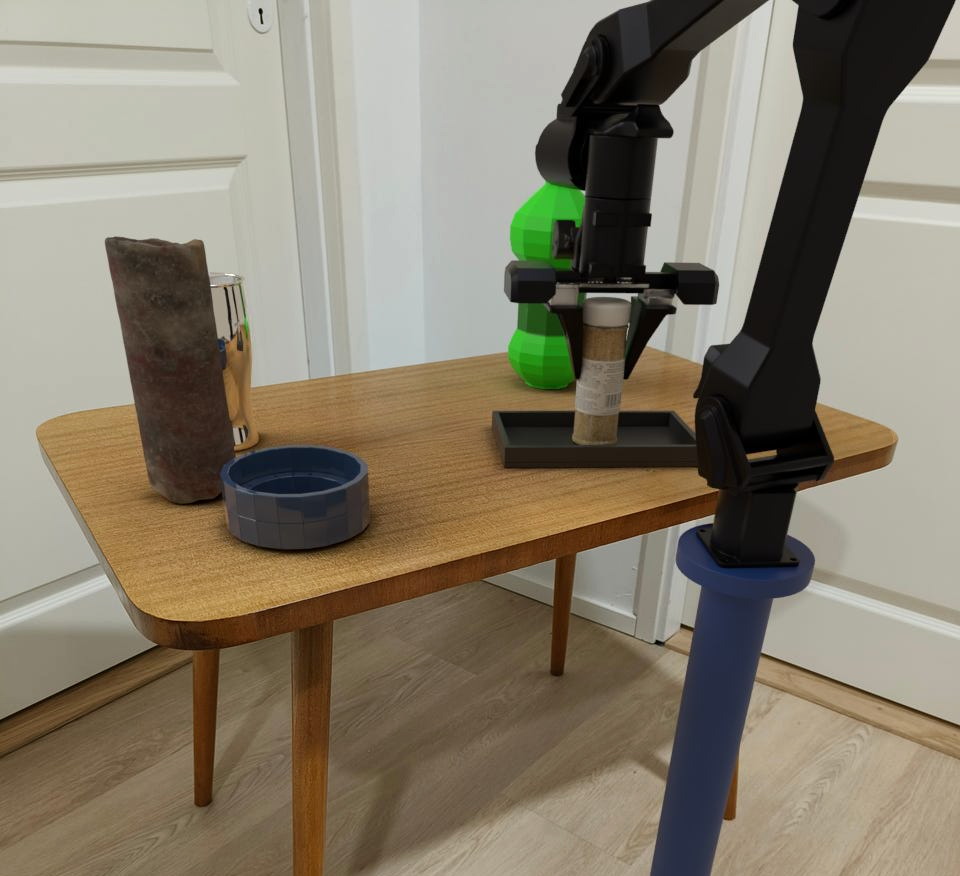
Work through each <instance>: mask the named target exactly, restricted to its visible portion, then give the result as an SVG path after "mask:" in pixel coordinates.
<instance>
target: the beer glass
mask: <svg viewBox="0 0 960 876" xmlns="http://www.w3.org/2000/svg"><path fill="white" fill-rule="evenodd" d="M208 274H209V279H210V285H211V292H212V300H213V309H214V316H215V321H216V328H217V335H218V343H219V350H220V357H221V364H222V372H223V378H224V384H225V391H226V398H227V404H228V410H229V417H230V423H231V430H232V436H233V443H234V449H235V452H238V451H242V450H243V451H244V450H247V449H250V448H252V447H254V446H256V445H257V444H258V442H259V439H260V437H259V432H258V429H257V426H256V422H255V419H254V415H253V411H252V401H251V399H252V398H251V394H252V393H251V390H252V389H251V388H252V376H253V375H252V374H253V360H254V334H253V333H254V331H253V321H252V313H251V308H250V302H249V297H248V291H247V286H246V279H245V277H244V276H243V275H240V274H237V273H230V272H229V273H228V272H214V271H213V272H209V271H208Z"/></svg>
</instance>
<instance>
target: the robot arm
mask: <svg viewBox="0 0 960 876" xmlns="http://www.w3.org/2000/svg"><path fill="white" fill-rule="evenodd" d="M769 1H770V0H648V1H645V2H642V3H638V4H634V5H631V6H627V7H623V8H619V9H618V10H616V11H614V12H612V13H610V14H608V15H607V16H605V17H603V18H602V19H599V20H598V21H597V22H596V23H595V24H594V25H593V27H592V28H591V29H590V31H589V33H588V35H587V37H586V39H585V41H584V43H583V44H582V47H581V50H580V53H579V55H578V58H577V60H576V63H575V66H574V67H573V68H572V69H573V70H572V73H571V74H570V77H569V78H568V81H567V82H566V84H565V86H564V88H563V90H562V92H561V93H560V96H561V102H560V103H558V104H557V105H556V118H555V119H553V120H552V121H550V122H549V123H548V124H547V125H546V126H545V127H544V128H543V130H542V132H541V133H540V135H539V137H538V141H537V143H536V144H535V151H534V156H535V157H534V159H535V165H536V169H537V171H538V173H539V175H540V176H541V178H543V180H544V181H545V183H546V182H548V183H550V184H551V185H555V186H559V187H565V188H570V189H576V190H580V191H581V192H584V195H585V201H584V206H583V213H582V221H581V224H580V227H576V224H575V221H574V220H556V221H555V222H554V225H553V237H552V257H553V259H571V271H556V269H555V268H554V267H553V266H552V265H551V264H550V263H549V262H548V261H519V260H518V259H517V260H515V259H514V260H511V261H509V262H508V263H507V265H506V266H505V269H504V273H503V276H504V277H503V293H504V294H505V296H506V297H507V299H508V301H509V302H510V303H514V304H518V303H543V304H544V306H545V307H546V308H547V310H548V311H549V312H550V313H554V314H557V316H558V319H559V322H560V324H561V327H562V330H563V333H564V337H565V341H566V345H567V349H568V354H569V358H570V362H571V367H572V371H573V375H574V378H575V379H574V380H575V381H577V380H579V379H580V375H581V369H582V343H583V308H582V307H581V306H580V305H579V303H578V302H577V300H578V295H579V293H587V294H637V295H632V296H630V303H631V318H630V323H629V324H628V326H629V327H628V329H627V337H626V349H625V368H624V377H623V381H624V380H625V381H627V380H629V378H630V377H631V374H632V372H633V371H634V369H635V367H636V365H637V363H638V361H639V359H640V357H641V356H642V354H643V352H644V350H645V348H646V347H647V344H648V343H649V341H650V340H651V338H652V337H653V336H654V334H655V332H656V331H657V330H658V328H659V326H660V325H661V324H662V322H663V321H664V320H665V318H666V316H669V315H671V316H672V315H676V314H677V308H678V307H676V306H675V305H673V301H674V299H675V296H676V297H677V298H678V299H679V301H680V302H681V303H682V304H683V305H685V306H686V305H687V306H713V305H717V303H718V302H717V301H718V295H719V289H720V281H719V275H718V274H717V273H716V271H715V270H714V269H713V268H710V267H708V266H706V265H704V264H702V263H700V262H671V261H670V262H669V261H667V262H666V261H664V262H663V263H662V266H661V269H660V270H659V271H647V265H646V264H645V259H646V247H647V239H648V230H649V228H651V227H652V226H651V225H652V219H653V218H652V217H653V213H651V203H652V197H653V196H652V195H653V187H654V186H653V185H654V177H655V168H656V160H657V149H658V140H659V139H672V137H673V136H674V133H675V132H674V128H673V127H672V124H671V123H670V121H669V120H668V119H667V118H666V117H665V116H664V114H663V112H662V109H661V105H663V104H664V103H666V102H667V101H668V100H669V99H670V97H672V96H673V94H674V93H676V91H677V90H678V89H679V88H680V87H681V86H682V85H683V84H684V83H685V81H687V79H688V78H689V76H690V73H691V69H692V64H693V60H694V59H695V58H696V57H697V56H698V55H699V53H701V52H702V51H703V50H704V49H706V48H707V47H709V46H710V45H711V44H712V43H713V42H715V41H716V40H718V39H719V38H720V37H722V36H723V35H725V34H726V33H727V32H728V31H730V30H731V29H732V28H734V27H735V26H737V25H738V24H740V23H741V22H742V21H743V20H744V19H746V18H747V17H748V16H750V15H751V14H753V13H754V12H756V10H758V9H759V8H761V7H763V5H765V4H766V3H767V2H769ZM791 1H792V2H793V3H794V4H796V5H797V12H796V19H795V26H794V32H793V39H792V51H793V55H794V60H795V65H796V69H797V74H798V80H799V85H800V89H801V95H802V102H801V109H800V112H799V116H798V120H797V124H796V127H795V131H794V135H793V137H792V138H793V139H792V141H791V144H790V145H791V146H790V150H789V152H788V157H787V161H786V165H785V168H784V171H783V176H782V179H781V183H780V186H779V190H778V194H777V197H776V202H775V205H774V209H773V212H772V215H771V220H770V224H769V228H768V232H767V236H766V238H765V242H764V246H763V250H762V254H761V257H760V261H759V265H758V267H757V272H756V276H755V280H754V283H753V286H752V291H751V296H750V298H749V302H748V305H747V310H746V313H745V317H744V321H743V323H742V327H741V329H740V330H739V332H738V333H737V334H736V335H735V337H734V338H733V339H732V340H731V341H730V343H723V344H722V343H721V344H712V345H710V346H709V347H708V349H707V350H706V352H705V354H704V356H703V362H702V371H701V375H700V379H699V382H698V385H697V387H696V389H695V391H694V393H693V395H692V397H693V399H697V401H696V405H695V410H694V433H695V434H696V449H697V464H698V466H697V474H698V476H699V477H701V478H702V479H705V480H706V486H708V487H709V488H711V489H716V490H718V494H717V501H716V506H715V512H714V518H713V522H712V523H713V528H700V529H697V530H696V536H697V538H698V539H699V540H700V542H701V543H702V545H703V546H704V547H705V549H706V550H707V552H708V553H709V554H710V556H711V557H712V559H713V560H714V562H715V563H716V564H717V566H718V567H721V568H773V567H798V566H799V563H800V560H799V558H798V557H797V556H796V555H795V554H794V553H793V552H792V551H791V549H790V548H789V547H788V546H787V545H786V544H785V542H786V538H787V535H788V533H789V529H790V526H791V525H790V524H791V520H792V515H793V512H794V507H795V502H796V497H797V494H798V489H799V484H803V483H808V482H820V481H823V480H825V478H826V476H827V474H828V472H829V471H830V469H831V468H832V466H833V465H834V462H835V456H834V454H833V451H832V449H831V446H830V443H829V440H828V438H827V436H826V434H825V431H824V428H823V426H822V424H821V421H820V418H819V416H818V412H817V411H816V408H817V403H818V399H819V392H820V387H821V382H822V380H821V379H822V378H821V373H820V369H819V366H818V361H817V358H816V353H815V349H814V344H813V343H814V337H815V334H816V330H817V329H818V325H819V323H820V318H821V315H822V313H823V309H824V306H825V302H826V300H827V297H828V293H829V290H830V288H831V284H832V281H833V278H834V274H835V271H836V269H837V265H838V262H839V259H840V256H841V253H842V250H843V246H844V243H845V240H846V238H847V234H848V231H849V228H850V224H851V223H852V218H853V216H854V212H855V209H856V207H857V203H858V201H859V197H860V193H861V191H862V188H863V184H864V181H865V178H866V175H867V171H868V170H869V169H868V168H869V165H870V162H871V159H872V156H873V152H874V149H875V147H876V143H877V141H878V137H879V134H880V131H881V128H882V124H883V122H884V119H885V117H886V114H887V113H888V110H889V109H890V107H891V106H892V105H893V104H894V102H896V100H897V99H898V98H899V96H900V95H901V94H902V93H903V92H904V90H905V89H906V88H907V87H908V86H909V84H910V83H911V82H912V81H913V80H914V78H915V77H916V76H917V75H918V73H920V71H921V70H922V69H923V67H924V66H925V65H926V64H927V63H928V61H929V60H930V58H931V56H932V54H933V52H934V50H935V47H936V45H937V43H938V40H939V38H940V37H941V35H942V32H943V30H944V28H945V25H946V23H947V21H948V19H949V16H950V14H951V12H952V10H953V9H954V6H955V3H956V1H957V0H791ZM773 451H775V452H776V454H773V455H767V456H761V457H755V458H748V456H747V455H753V454H758V453H765V452H773Z"/></svg>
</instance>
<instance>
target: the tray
mask: <svg viewBox="0 0 960 876" xmlns="http://www.w3.org/2000/svg"><path fill="white" fill-rule="evenodd" d="M574 421H575V410H492V412H491V431H492V434H493V438H494V441H495V443H496V447H497V450H498V453H499V456H500V459H501V462H502V465H503V468H505V469H507V468H508V469H514V468H515V469H516V468H517V469H519V468H520V469H521V468H523V469H524V468H525V469H527V468H531V469H532V468H534V469H535V468H537V469H538V468H539V469H541V468H663V467H664V468H666V467H667V468H668V467H669V468H670V467H672V468H673V467H674V468H676V467H677V468H678V467H681V468H683V467H684V468H685V467H686V468H687V467H691V468H692V467H698V464H697V449H696V434H695V431H693V430H692V429H691V427H690V426H689V424H687V423H686V422H685V421H684V420H683V419H682V418H681V417H680V415H679V414H678V413H677V412H676V411H675V410H620V412H619V415H618V426H617V442H616V444H615V445H578V444H576V443H575V442H574V441H573V439H572V435H573V433H574Z"/></svg>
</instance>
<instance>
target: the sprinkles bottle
mask: <svg viewBox="0 0 960 876" xmlns="http://www.w3.org/2000/svg"><path fill="white" fill-rule="evenodd" d="M582 308H583V343H582V369H581V375H580V379H579V380H576V387H575V401H574V411H575V421H574V433H573V435H572V439H573V441H574V442H575V443H576V444H578V445H615V444H616V442H617V426H618V415H619V412H620V411H621V405H622V395H623V386H624V379H623V377H624V368H625V349H626V340H627V334H628V329H629V324H630V318H631V301H629V300H627V299H625V298H620V297H614V296H592V297H588V298H587V297H586V299H585V300H583V302H582Z"/></svg>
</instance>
